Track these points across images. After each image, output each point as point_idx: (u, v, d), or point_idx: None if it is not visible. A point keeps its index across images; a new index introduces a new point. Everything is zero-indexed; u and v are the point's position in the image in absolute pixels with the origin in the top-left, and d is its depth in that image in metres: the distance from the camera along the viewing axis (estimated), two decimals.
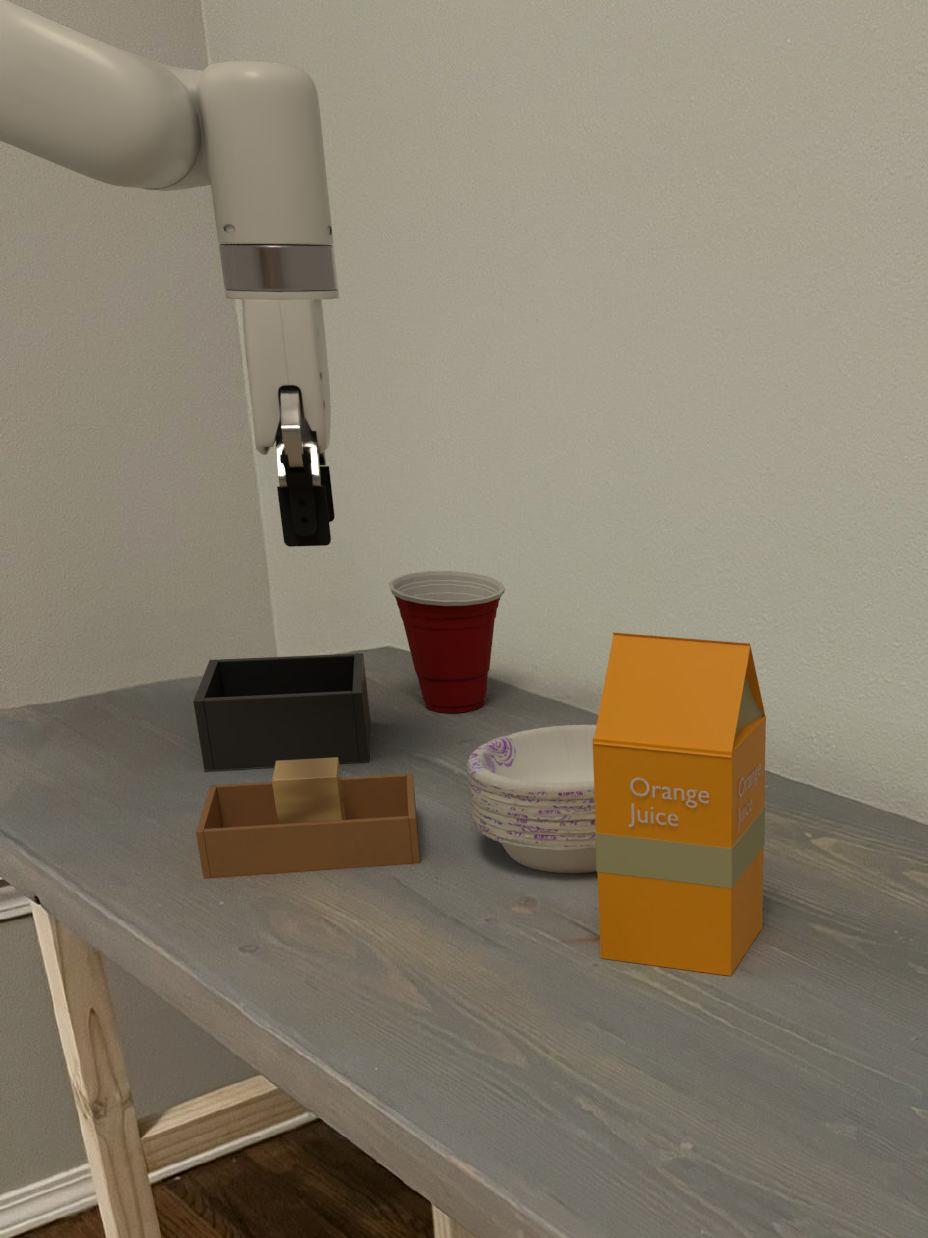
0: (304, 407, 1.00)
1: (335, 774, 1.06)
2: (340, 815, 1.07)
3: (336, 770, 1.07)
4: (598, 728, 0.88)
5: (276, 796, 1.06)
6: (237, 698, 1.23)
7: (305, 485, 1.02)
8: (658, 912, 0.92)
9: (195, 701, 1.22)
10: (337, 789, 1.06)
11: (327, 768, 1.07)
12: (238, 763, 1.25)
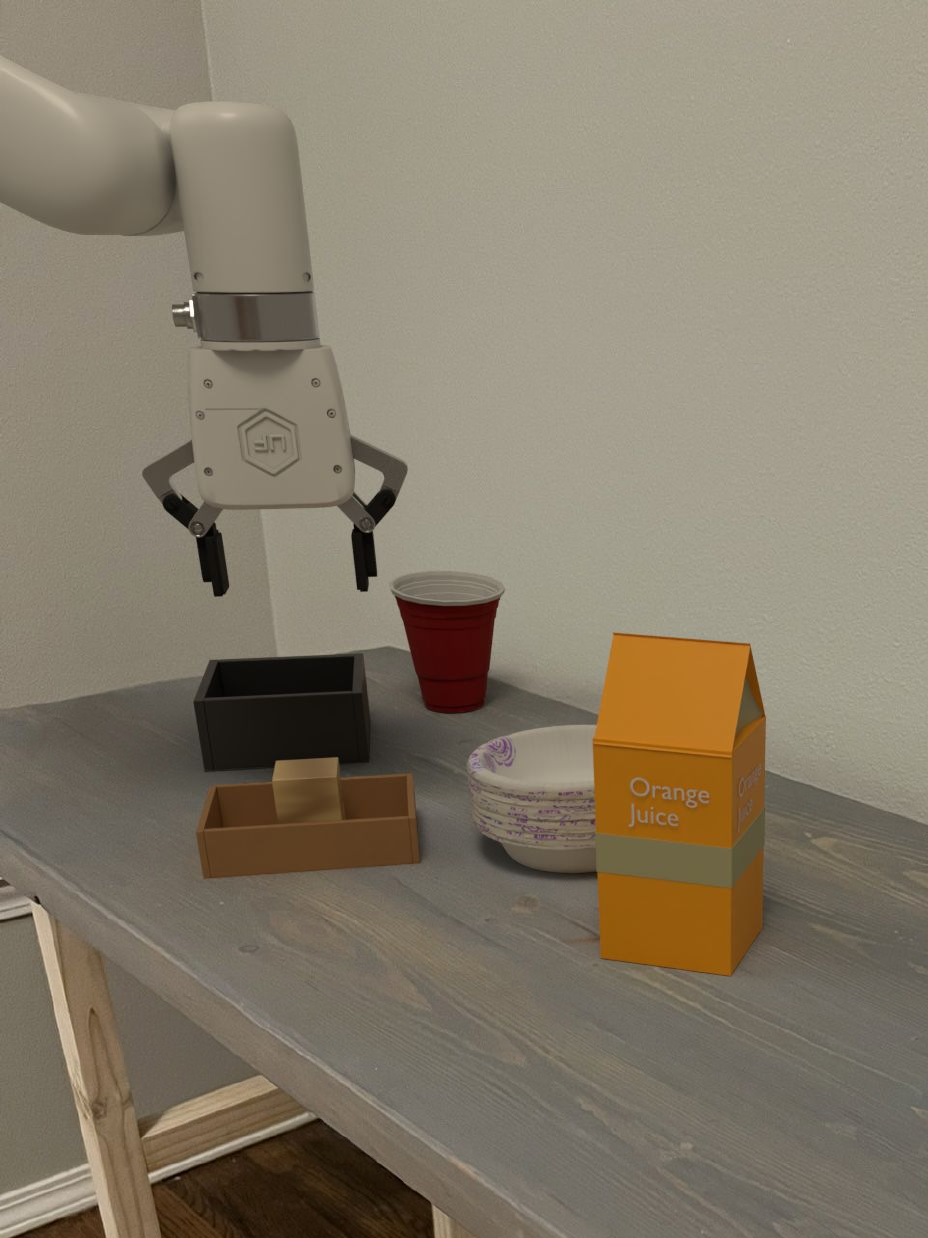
0: None
1: (335, 774, 1.06)
2: (340, 815, 1.07)
3: (336, 770, 1.07)
4: (598, 728, 0.88)
5: (276, 796, 1.06)
6: (237, 698, 1.23)
7: None
8: (658, 912, 0.92)
9: (195, 701, 1.22)
10: (337, 789, 1.06)
11: (327, 768, 1.07)
12: (238, 763, 1.25)
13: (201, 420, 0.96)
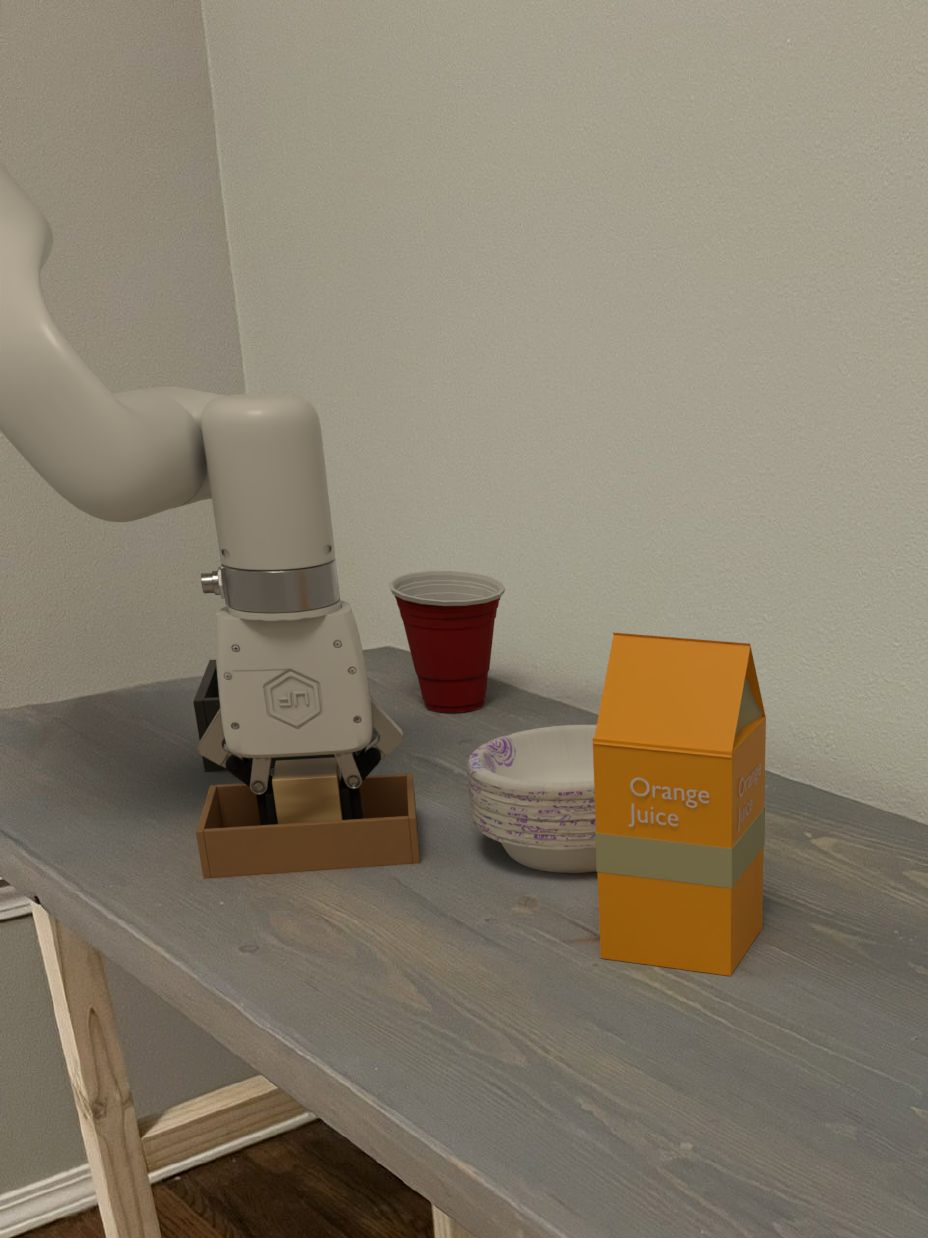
0: None
1: (335, 774, 1.06)
2: (340, 815, 1.07)
3: (336, 770, 1.07)
4: (598, 728, 0.88)
5: (276, 796, 1.06)
6: None
7: None
8: (658, 912, 0.92)
9: (195, 701, 1.22)
10: (337, 789, 1.06)
11: (327, 768, 1.07)
12: None
13: (229, 680, 1.01)
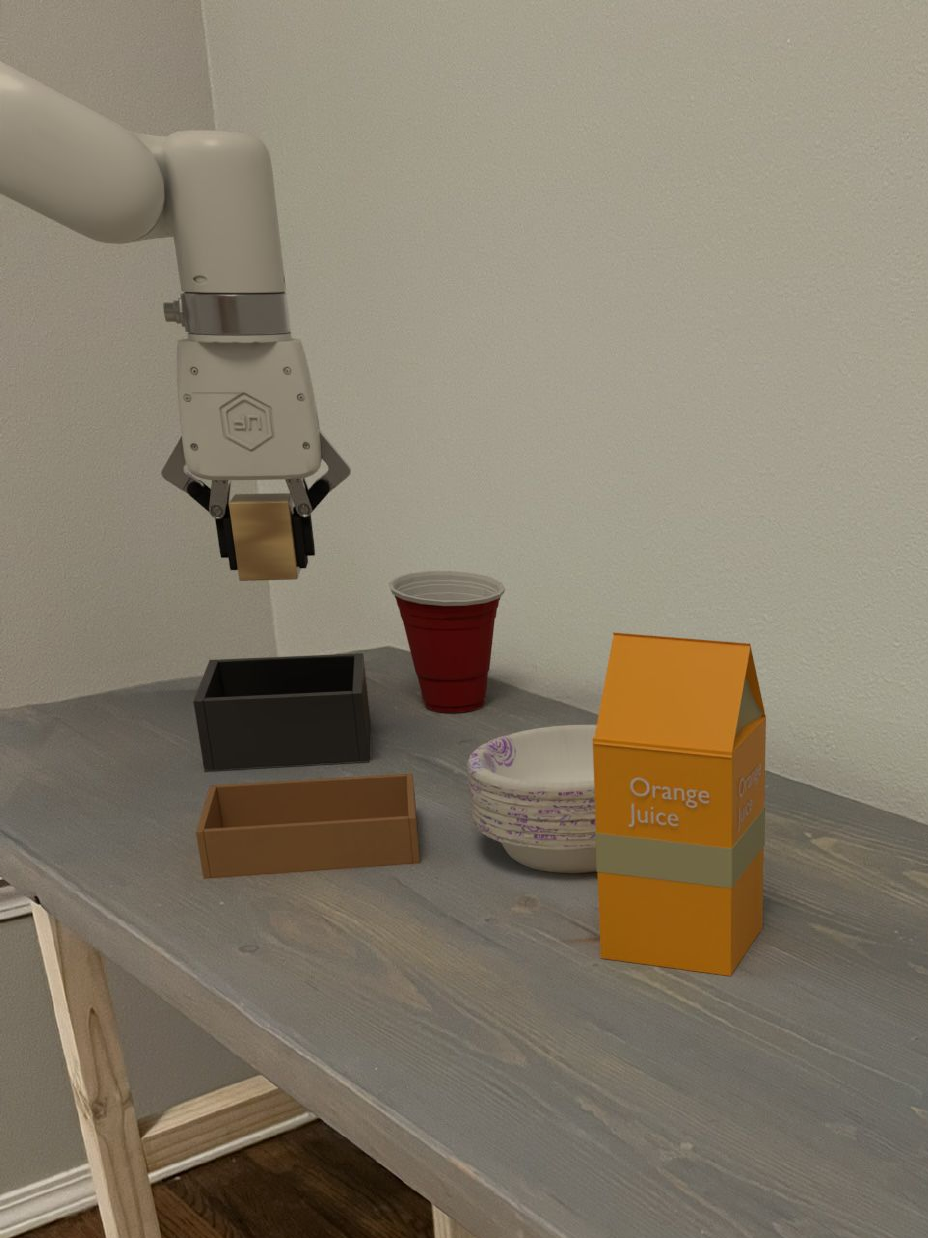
0: (319, 429, 1.17)
1: (287, 501, 1.16)
2: (292, 540, 1.17)
3: (288, 499, 1.17)
4: (598, 728, 0.88)
5: (233, 518, 1.16)
6: (237, 698, 1.23)
7: None
8: (658, 913, 0.92)
9: (195, 701, 1.22)
10: (289, 514, 1.16)
11: (281, 498, 1.17)
12: (238, 763, 1.25)
13: (188, 402, 1.11)
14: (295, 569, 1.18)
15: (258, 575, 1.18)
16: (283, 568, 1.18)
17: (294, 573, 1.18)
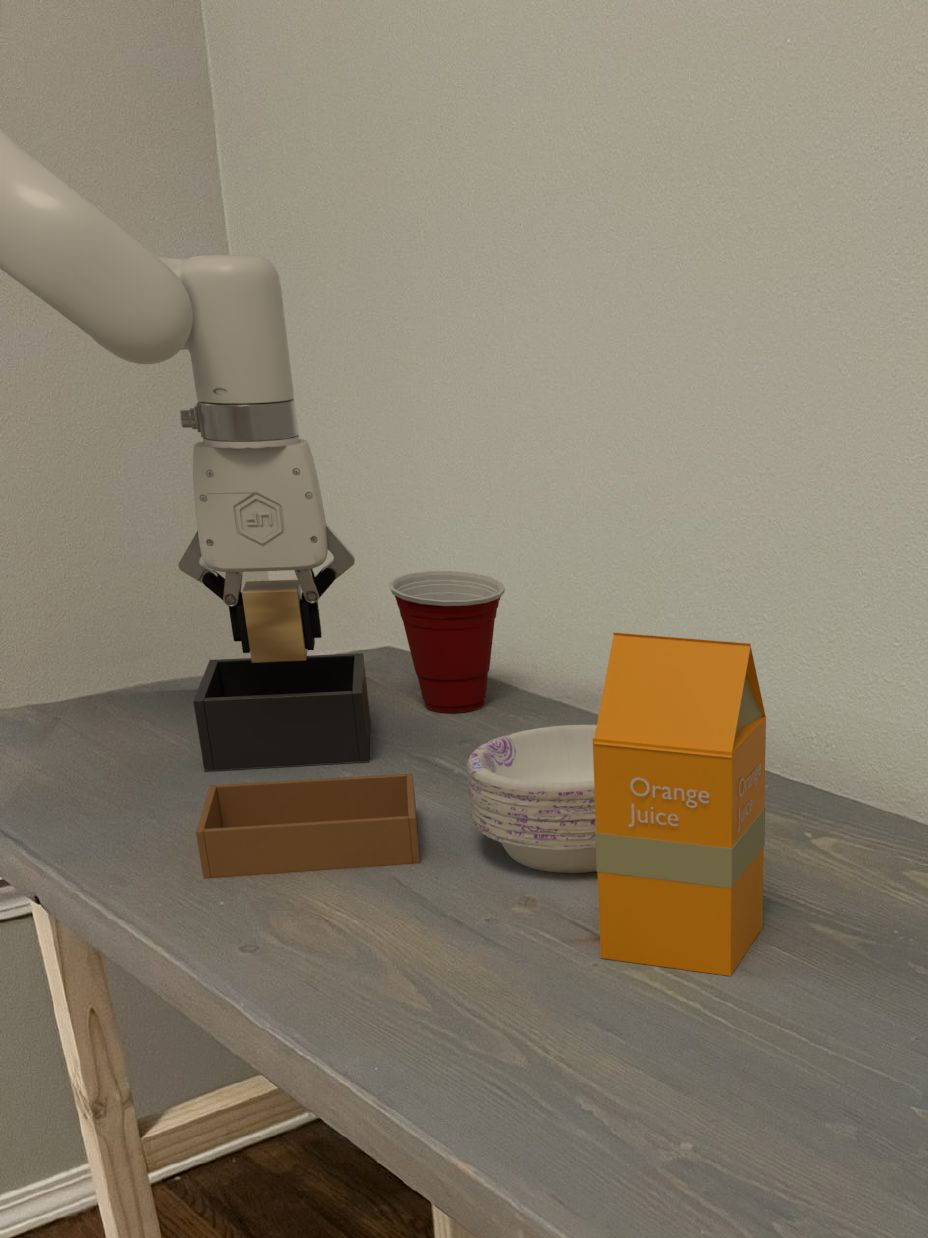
0: (325, 522, 1.25)
1: (296, 589, 1.25)
2: (300, 625, 1.26)
3: (297, 587, 1.26)
4: (598, 728, 0.88)
5: (246, 606, 1.24)
6: (237, 698, 1.23)
7: None
8: (658, 913, 0.92)
9: (195, 701, 1.22)
10: (297, 602, 1.25)
11: (289, 586, 1.26)
12: (238, 763, 1.25)
13: (204, 502, 1.20)
14: (304, 651, 1.27)
15: (269, 657, 1.26)
16: (292, 650, 1.26)
17: (303, 655, 1.27)
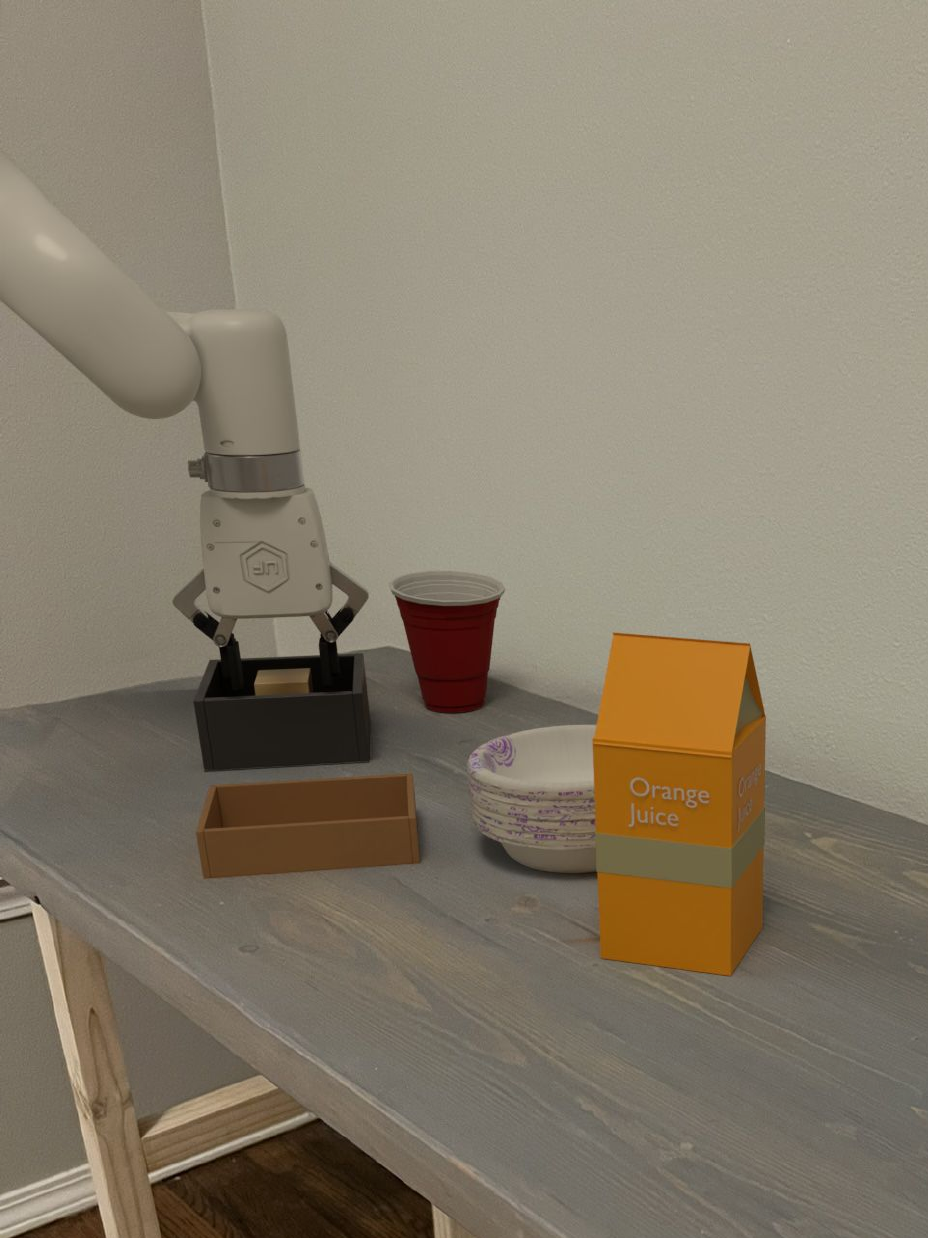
0: None
1: (306, 680, 1.28)
2: None
3: (307, 677, 1.29)
4: (598, 728, 0.88)
5: None
6: (237, 698, 1.23)
7: None
8: (658, 912, 0.92)
9: (195, 701, 1.22)
10: (308, 692, 1.28)
11: (300, 676, 1.29)
12: (238, 763, 1.25)
13: (211, 551, 1.21)
14: None
15: None
16: None
17: None
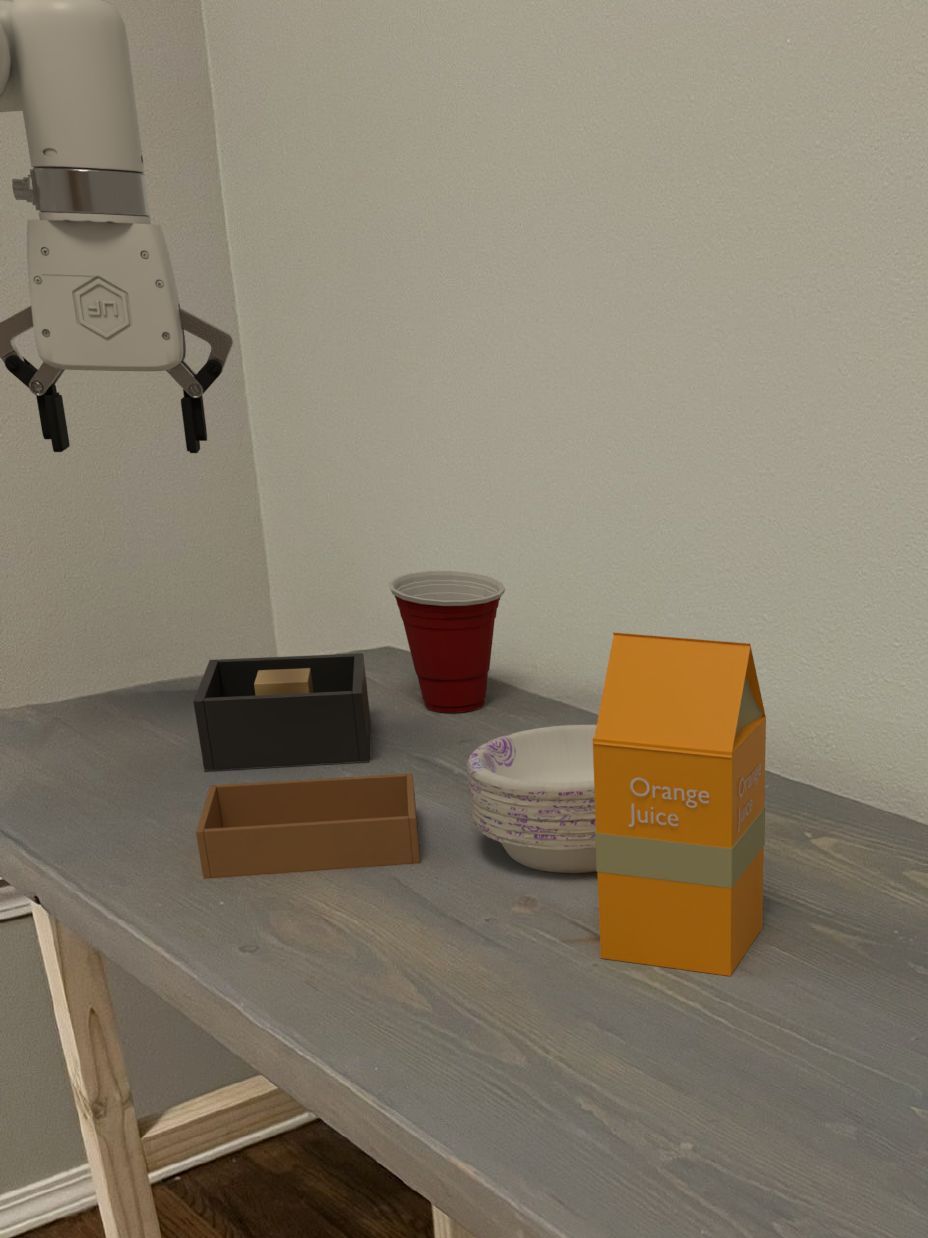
0: None
1: (306, 680, 1.28)
2: None
3: (307, 677, 1.29)
4: (598, 728, 0.88)
5: None
6: (237, 698, 1.23)
7: None
8: (658, 913, 0.92)
9: (195, 701, 1.22)
10: (308, 692, 1.28)
11: (300, 676, 1.29)
12: (238, 763, 1.25)
13: (39, 285, 1.06)
14: None
15: None
16: None
17: None
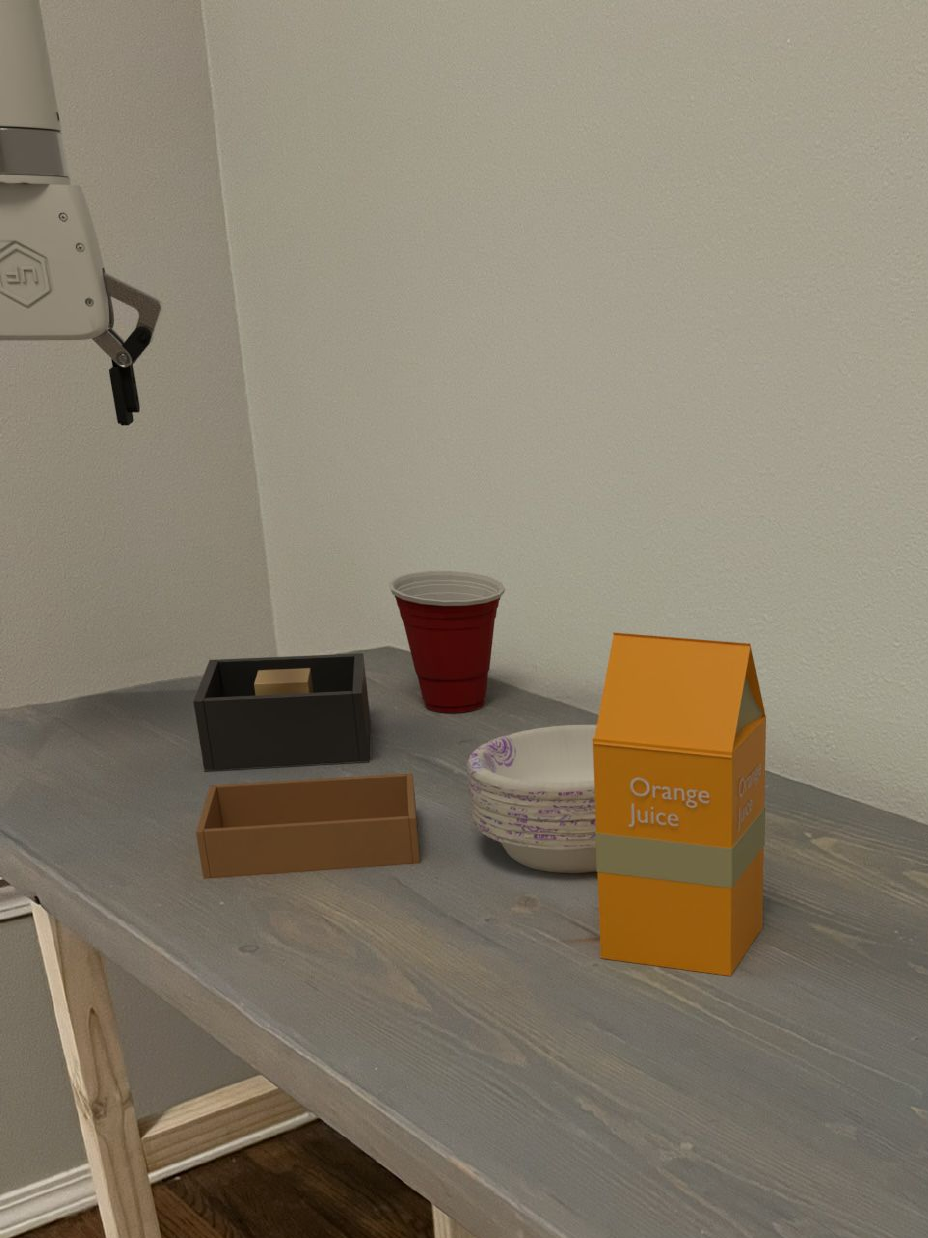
0: None
1: (306, 680, 1.28)
2: None
3: (307, 677, 1.29)
4: (598, 728, 0.88)
5: None
6: (237, 698, 1.23)
7: (134, 362, 1.10)
8: (658, 912, 0.92)
9: (195, 701, 1.22)
10: (308, 692, 1.28)
11: (300, 676, 1.29)
12: (238, 763, 1.25)
13: None
14: None
15: None
16: None
17: None
